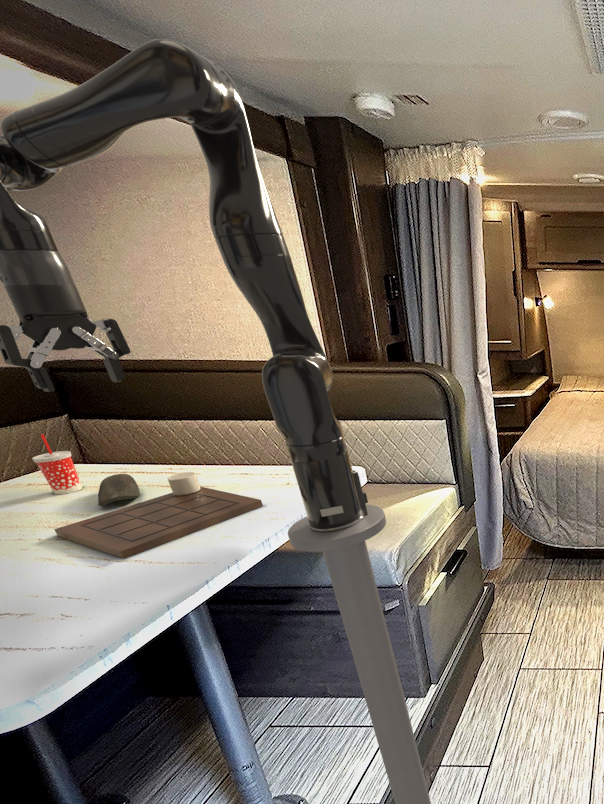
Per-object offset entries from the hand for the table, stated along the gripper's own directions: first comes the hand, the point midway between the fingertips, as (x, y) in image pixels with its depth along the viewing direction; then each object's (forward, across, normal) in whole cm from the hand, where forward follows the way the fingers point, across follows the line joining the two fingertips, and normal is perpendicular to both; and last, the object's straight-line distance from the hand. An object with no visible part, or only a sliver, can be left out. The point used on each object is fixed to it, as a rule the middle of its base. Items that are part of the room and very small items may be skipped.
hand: (85, 386), depth 84 cm
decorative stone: (+30, +9, +34) cm, 46 cm away
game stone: (+28, +15, +18) cm, 36 cm away
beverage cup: (+29, +6, +52) cm, 60 cm away
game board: (+30, +6, +9) cm, 31 cm away
